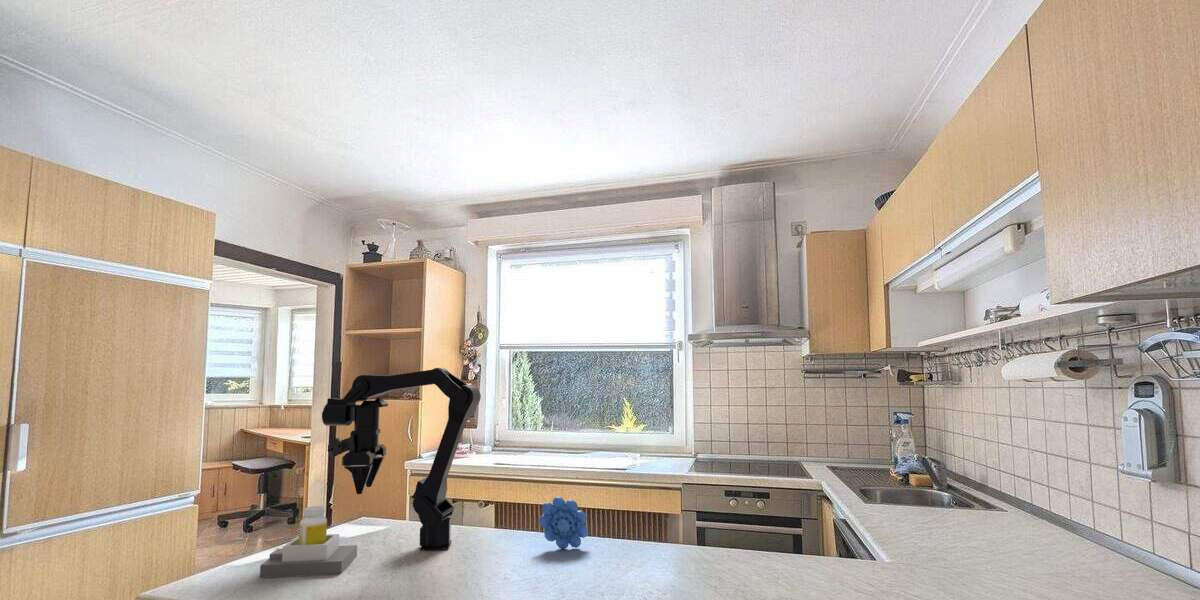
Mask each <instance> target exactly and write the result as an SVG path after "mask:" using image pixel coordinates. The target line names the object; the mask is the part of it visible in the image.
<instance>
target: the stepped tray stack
mask: <svg viewBox="0 0 1200 600" xmlns="http://www.w3.org/2000/svg"><path fill="white" fill-rule="evenodd" d="M357 556H358V545H357V544H355V545H340V533H336V534H333V533H332V534H331V533H330V534H326V543H324V544H312V545H299V535H296V537H293V539H291V540H290V541H289V542H288V543H286V544H285V545H284V546H282V548H276V549H275V550H273V551H272V552H270V553H269V558H268V559H267V560H266V561H264V562H262V564H260V566H259V578H260V579H263V578H267V579H268V578H283V577H284V578H285V577H303V576H304V577H305V576H323V575H338V574H339V575H341V574H343V573H344V571H346V569H347V568H348V567H349V566H350V565H351V564H352V563H353V561H354V560H356V559H357Z"/></svg>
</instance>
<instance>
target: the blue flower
mask: <svg viewBox="0 0 1200 600" xmlns="http://www.w3.org/2000/svg"><path fill="white" fill-rule="evenodd" d="M541 510H542V512H543V514H542V515H540V516H539V519H538V524H539V526H541V528H544V529H545V530H544V531H543V532H544V533H543V534H544V538H545V539H546V540H547V542H551V543H552V542H555V544H556V546H557V547H558V549H561V550H566V549H568V547H569V545H570V546H571V548H576V549H577V548H579V547H580V546H581V544H582V540H581V538H582V539H584V538H586V537H587V536H588V534H589V528H588V527H587V526H586V525H585V524H586V523H587V520H588V517H587V514H586V513H585V511H583V510H579V506H578V503H577V502H576V501H575V500H573V499H569V500H567V501H565V500H564V498H562V497H561V496H558V495H557V496H554V497H553V499H552V503H551V502H545V503H543V504H542V508H541Z"/></svg>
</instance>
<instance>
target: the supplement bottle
mask: <svg viewBox="0 0 1200 600" xmlns="http://www.w3.org/2000/svg"><path fill="white" fill-rule="evenodd" d="M324 514H325V506H323V505H312V506H308V507H305V508H304V509H303V516H304V518H302V519H301V520H300V523H299V531H298V534H299V535H298V536H299V545H312V544H324V543H326V535H327V531H328V529H327V527H328V519H327V517H325V516H324Z"/></svg>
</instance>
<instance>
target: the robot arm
mask: <svg viewBox="0 0 1200 600" xmlns="http://www.w3.org/2000/svg"><path fill="white" fill-rule="evenodd" d="M431 385H435V386H437V388H438V389H439V390H440V391H441V392H442V394H443V395H445V396H446V397H448V398H449V401H448V407H447V409H448V411H447V413H448V415H447V416H448V419H447V422H446V424H445V425H446V426H445V428H444V431H443V434H442V437H441V439H440V442H439V444H438V447H437V451H436V454H435V455H434V459H433V463H432V465H431V468H430V469H429V470H430V471H429V473H428V475H427V476H426V477H425V478H423V479H420V480H418V481H417V483H416V487H415V490H414V493H413V495H412V496H411V499H413V501H412V508H413V509H414V512H415V513H416V514H417V515H418V518H419V521H420V524H421V526H420V528H419V547H420V551H436V550H437V551H438V550H449V549H450V546H451V545H452V544H451V543H452V539H451V533H452V531H451V527H452V525H451V523H452V522H451V519H452V518H451V517H452V516H453V513H454V511H455V507H454V506H453V505H452V503H451V502H450V501H449V500H448V499H447V491H448V481H447V480H448V476H449V472H450V471H451V470H450V469H451V467H452V465H453V461H454V459H455V455H456V453H457V449H458V448H459V445H460V444H459V443H460V441H461V438H462V435H463V433H464V430H465V428H466V424H467V423H468V421H469V419H470V418H471V417H472V415H473V414H474V413H475V411H476V409H477V407H478V405H479V403H480V402H481V397H482V396H481V392H480V391H479V388H477V386H474V385H472V384H467V383H466V382H464V381H463V380H461V378H459V377H457V376H455V375H454V374H453V373H451V372H450V371H449V370H448V369H447V368H444V367H435V368H432V369H428V370H420V371H413V372H408V373H406V372H405V373H399V374H394V375H393V374H392V375H390V374H389V375H386V374H361V375H358V376H355V378H354V380H353V382H352V386H351V387H350V389H349V390H348V392H347V393H346V394H345V396H344V397H343V398H336V397H331V398H327V402H326V403H325V406H324V407H323V410H322V411H321V420H322V421H321V422H322V423H323V425H325V426H328V427H329V426H331V427H337V426H346V427H347V426H350V425H352V424H353V423H354V425H353V430H351V432H350V435H349V436H350V437H346V438H345V439H340V437H335V438H332V439H330V440H329V444H328V445H327V451H326V452H328V453H329V454H330V457H331V458H335V457H337V456H339V455H341V454H343V453H345V454H344V455H343V456H342V458H341V466H343V468H344V469H347V471H349V472H350V474H351V476H352V480H353V481H352V482H353V485H354V488H355V493H356V495H362V494H363V491H364V489H365V487H366V488H371V487H372V485H373V483H374V482H375V479H376V477H377V474H378V472H379V470H380V468H381V466H382V464H383V462H384V459H385V456H386V455H387V447H386V446H385V444H383V443H380V444H379V434H381V428H380V427H379V426H380V408H384V407H385V408H386V407H388V406H389V403H388V402H387V401H385V400H384V399H383V397H382V396H383V395H386V394H388V393H391V392H394V391H398V390H404V389H410V388H411V389H412V388H416V387H424V386H431ZM380 396H381V397H380ZM371 398H375V399H373V400H369V399H371ZM357 402H359V403H360V404H357ZM361 402H362V403H361Z"/></svg>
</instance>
